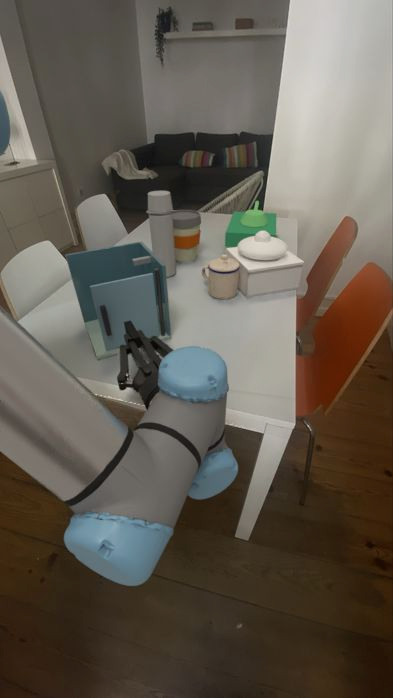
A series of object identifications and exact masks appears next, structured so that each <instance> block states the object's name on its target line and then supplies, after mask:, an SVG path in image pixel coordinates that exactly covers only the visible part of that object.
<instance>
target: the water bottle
mask: <svg viewBox="0 0 393 698" xmlns="http://www.w3.org/2000/svg"><path fill="white" fill-rule="evenodd" d="M171 211H174V208H173V201H172V194H171V192H170V191H168V190H153V191H152V190H151V191H149V192H147V210H146V211H145V212H146V213H147V214H148V222H149V231H150V240H151V248H152V250H151V251H152V252H153V253H154V254H155V255H156V256H157V257H158V258H159V259H160V260H161V261H162V262H163V263H164V264H165V266H166V278H167V279H168V278H171V277H173V276H175V274H176V272H177V264H176V260H175V246H174V230H173V214H172V212H171Z"/></svg>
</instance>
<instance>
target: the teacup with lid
mask: <svg viewBox="0 0 393 698" xmlns="http://www.w3.org/2000/svg"><path fill="white" fill-rule="evenodd" d="M239 268H240V265H239V263H238V262H237V261H236V260H234V259H230V258H228V256H227V255H226V254H225V253H223V254H221V255H220V257H218V258H214V259H212V260H210V261H209V262H208V263H207V264H206V265H204V266H202V267H201V276H202V278H203V280H204V281H205V282H207V283H208V294H209V295H210V296H211V297H212V298H215V299H219V300H229V299H232V298H235V297H236V295H238V290H239V289H238V274H239ZM206 269H208V276H207V273H206Z"/></svg>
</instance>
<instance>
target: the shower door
mask: <svg viewBox="0 0 393 698" xmlns="http://www.w3.org/2000/svg"><path fill="white" fill-rule="evenodd" d="M90 289H91V293H92V297H93V301H94V305H95V309H96V313H97V317H98V321H99V325H100V329H101V333H102V337H103V341H104V345H105V349H106V351H107V350H110V349H114V348H117V347H120V345H126V343H125V339H124V334H126V331H125V326H124V322H126V321H130V320H131V322H132V323H133V325H134V327H135V329H136V330H137V331H138V330H142V331H143V333H144V335H145V336H146V337H147V338H151V337H152V336H160V335H159V326H158V316H157V307H156V298H155V289H154V280H153V274H152V273H149V274H144V275H140V276H135V277H130V278H125V279H121V280H116V281H111V282H106V283H102V284H97V285H92V286H90Z"/></svg>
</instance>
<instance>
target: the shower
mask: <svg viewBox="0 0 393 698" xmlns="http://www.w3.org/2000/svg"><path fill="white" fill-rule="evenodd" d="M64 255H65V258H66V259H65V260H66V262H67V266H68V269H69V274H70V277H71V280H72V284H73V288H74V291H75V296H76V298H77V301H78V306H79V309H80V312H81V316H82V320H83V323H84V326H85V329H86V332H87V334H88V338H89V340H90V342H91V346H92V348H93V351H94V354H95V357H96V359H97V360H103V359H105V358H109V357H112V356H115V355H120V347H117V348H114V349H110V350H107V351H106V349H105V345H104V341H103V337H102V333H101V329H100V325H99V321H98V317H97V313H96V309H95V305H94V301H93V297H92V293H91V289H90V286H92V285H97V284H102V283H106V282H111V281H116V280H121V279H125V278H130V277H135V276H140V275H144V274H149V273H152V274H153V280H154V289H155V298H156V307H157V316H158V326H159V335H160V336H157V337H158V338H159V339H160V340H162V341H163V342H164V341H167V340H171V339H172V329H171V317H170V316H171V315H170V306H169V304H170V303H169V292H168V282H167V281H168V280H167V279H168V277H167V278H166V266H165V264H164V263H163V262H162V261H161V260H160V259H159V258H158V257H157V256H156V255H155V254H154V253H153V251H152V250H151V249H150V248H149V246H147V245H146V244H145V243H144V242H143V241H136V242H130V243H124V244H119V245H118V244H117V245H112V246H107V247H101V248H96V249H89V250H83V251H78V252H72V253H67V254H66V253H65V254H64Z"/></svg>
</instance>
